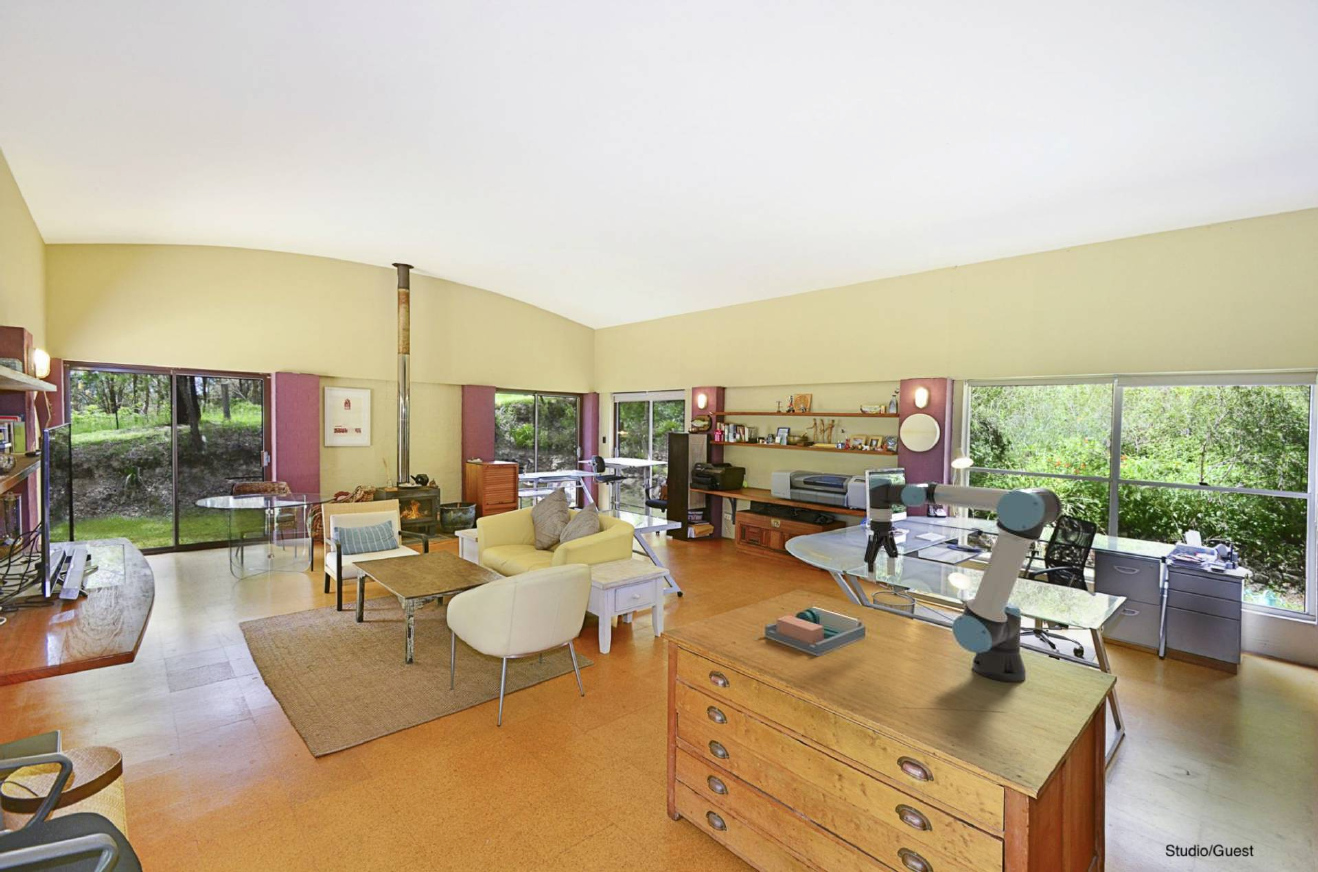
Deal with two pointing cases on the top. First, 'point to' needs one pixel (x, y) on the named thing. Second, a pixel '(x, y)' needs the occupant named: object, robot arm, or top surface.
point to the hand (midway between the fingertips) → (881, 578)
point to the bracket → (817, 622)
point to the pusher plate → (836, 620)
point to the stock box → (800, 629)
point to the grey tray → (820, 646)
